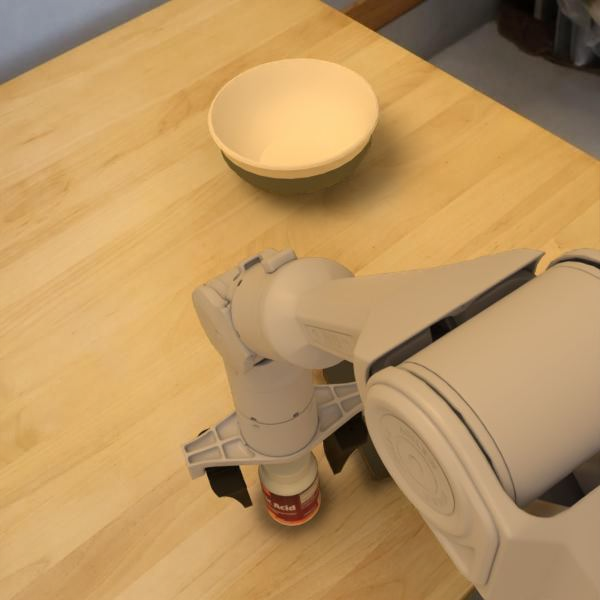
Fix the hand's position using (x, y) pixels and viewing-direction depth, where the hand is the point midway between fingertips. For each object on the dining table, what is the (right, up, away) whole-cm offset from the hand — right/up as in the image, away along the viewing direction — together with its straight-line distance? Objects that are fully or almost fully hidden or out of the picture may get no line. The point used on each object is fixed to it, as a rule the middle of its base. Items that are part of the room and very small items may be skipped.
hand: (289, 479), depth 69 cm
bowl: (+1, +30, +29) cm, 42 cm away
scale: (+10, +5, +8) cm, 14 cm away
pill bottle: (0, -3, +3) cm, 4 cm away
